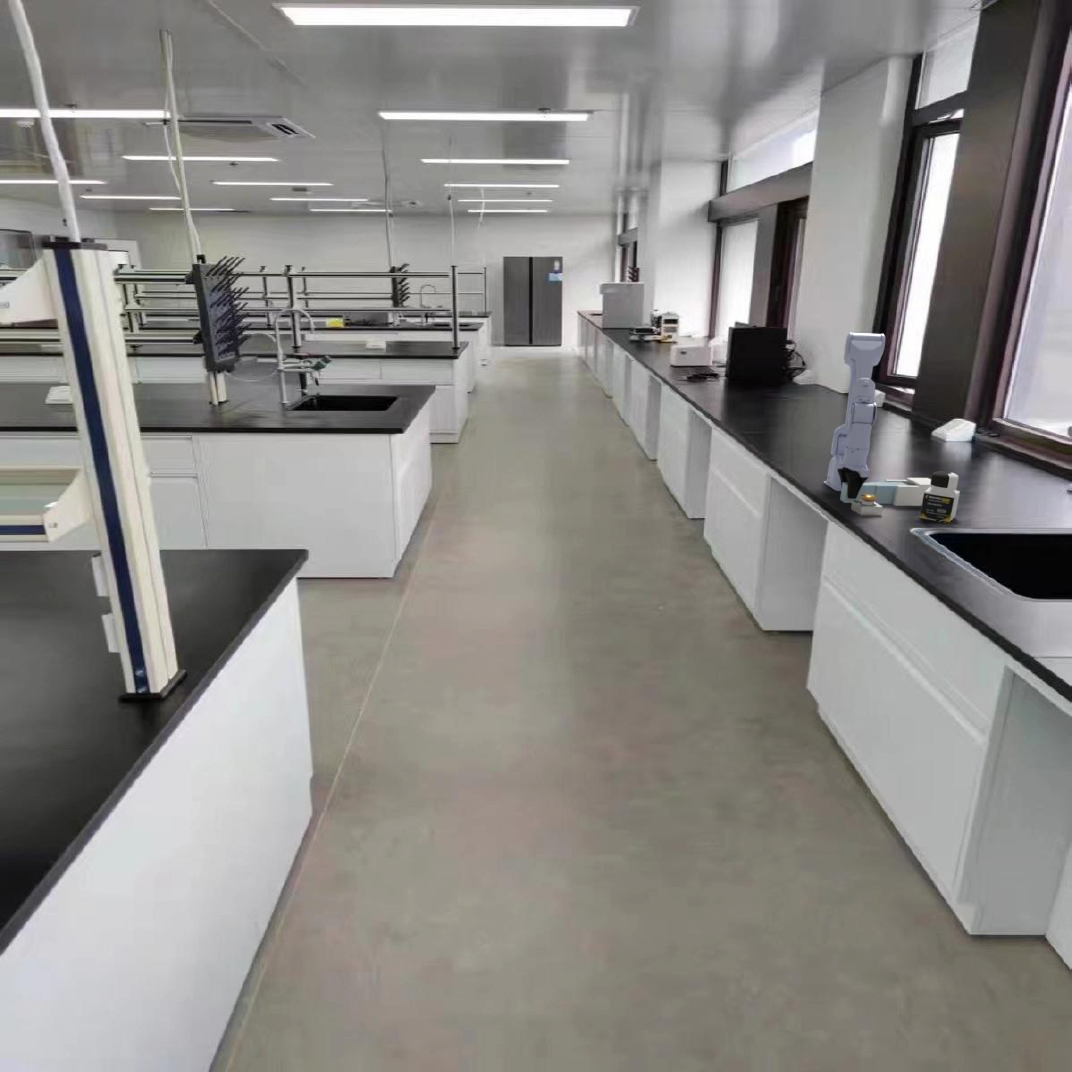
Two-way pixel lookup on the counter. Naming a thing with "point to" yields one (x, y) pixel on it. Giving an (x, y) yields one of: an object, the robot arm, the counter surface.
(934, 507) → the medicine bottle
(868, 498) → the gold-topped knob
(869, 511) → the plunger collar
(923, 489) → the housing
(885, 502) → the cartridge
